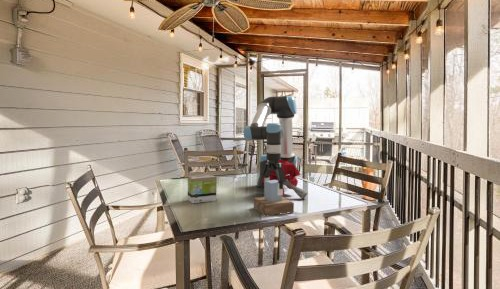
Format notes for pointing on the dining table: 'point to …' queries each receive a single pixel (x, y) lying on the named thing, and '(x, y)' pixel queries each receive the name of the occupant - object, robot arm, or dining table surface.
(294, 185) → the bouquet
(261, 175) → the robot arm
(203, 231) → the dining table surface
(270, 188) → the block
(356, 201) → the dining table surface
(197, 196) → the tea box
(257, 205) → the riser
